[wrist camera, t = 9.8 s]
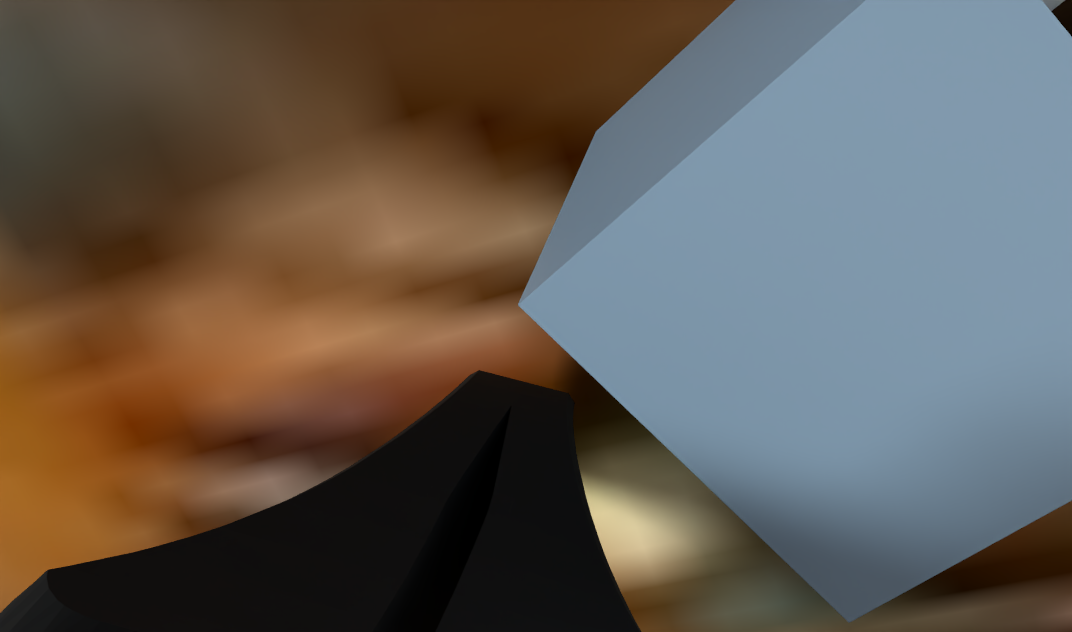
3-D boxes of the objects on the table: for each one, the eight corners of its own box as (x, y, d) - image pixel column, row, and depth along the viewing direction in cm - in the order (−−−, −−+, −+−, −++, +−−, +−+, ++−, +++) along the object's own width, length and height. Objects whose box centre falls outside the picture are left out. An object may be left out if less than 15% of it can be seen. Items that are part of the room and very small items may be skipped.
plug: (597, 130, 12) (517, 304, 8) (949, -202, 10) (1127, -229, 5) (808, 349, 13) (849, 622, 8) (1178, 86, 11) (1495, 267, 6)
